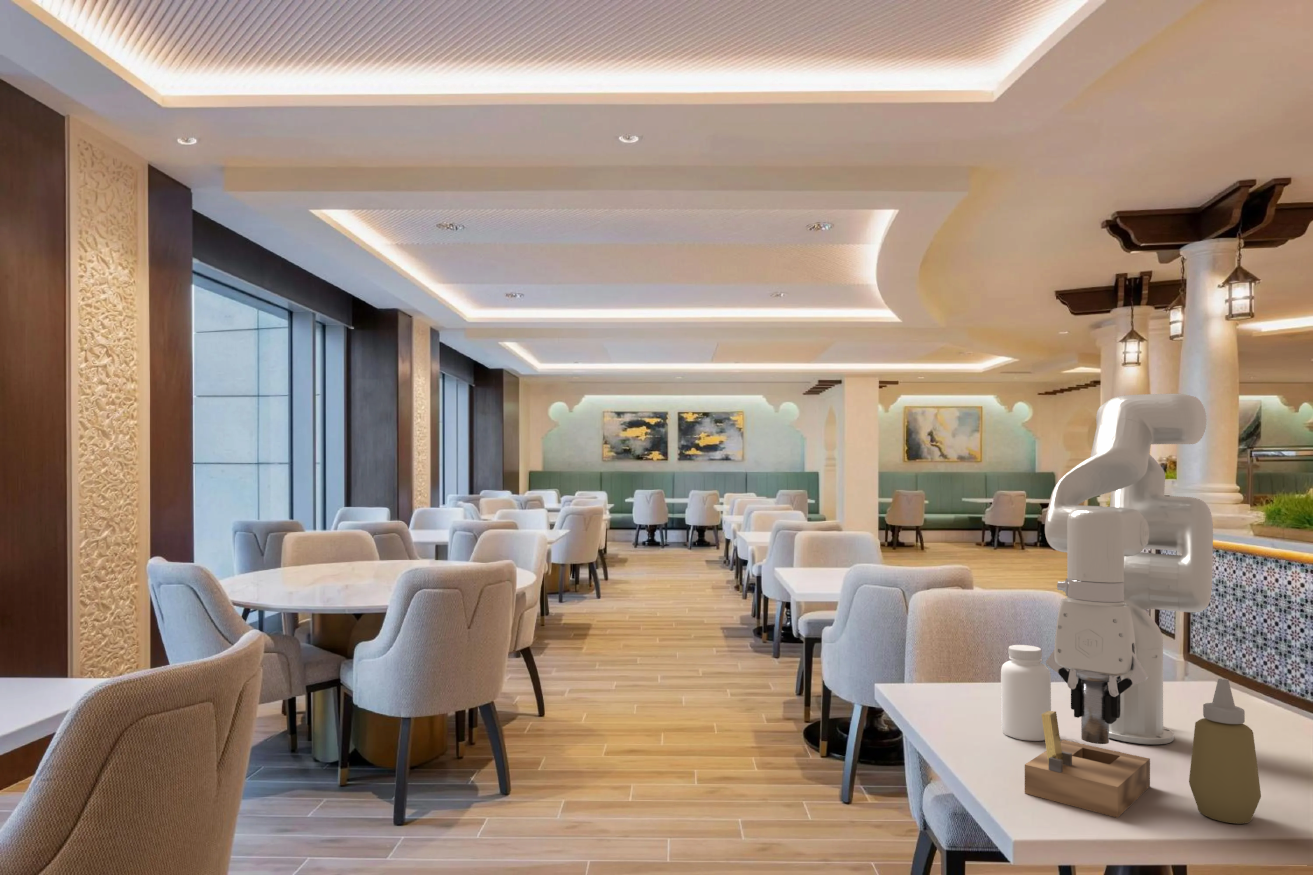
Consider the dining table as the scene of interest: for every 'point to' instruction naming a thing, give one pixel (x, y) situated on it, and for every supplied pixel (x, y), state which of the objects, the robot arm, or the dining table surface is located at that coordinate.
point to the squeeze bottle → (1224, 761)
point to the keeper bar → (1052, 735)
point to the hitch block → (1089, 778)
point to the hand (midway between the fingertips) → (1095, 717)
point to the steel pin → (1093, 707)
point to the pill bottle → (1024, 693)
